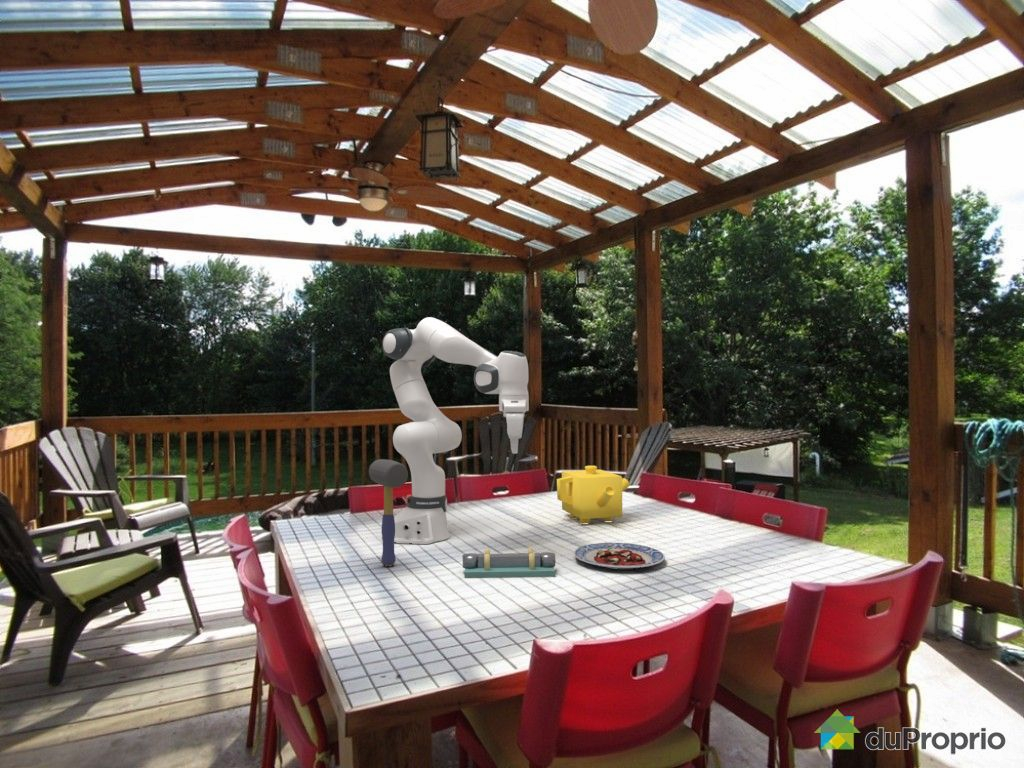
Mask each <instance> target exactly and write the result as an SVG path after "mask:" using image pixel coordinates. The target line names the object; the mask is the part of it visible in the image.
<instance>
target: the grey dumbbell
mask: <svg viewBox="0 0 1024 768" xmlns="http://www.w3.org/2000/svg"><path fill="white" fill-rule="evenodd" d="M533 553H534V554H535V567H544V568H551V567H554V568H555V567H556V553H554V552H551V551H549V552H548V551H545V552H533ZM484 554H485V553H472V552H471V553H470V552H469V553H464V554H463V555H462V568H463V569H464V570H465V569H475V568H484ZM529 554H530V553H528V552H524V553H521V552H515V553H512V552H511V553H490V568H515V567H529Z"/></svg>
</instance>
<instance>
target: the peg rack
mask: <svg viewBox="0 0 1024 768" xmlns="http://www.w3.org/2000/svg"><path fill="white" fill-rule="evenodd" d="M527 553H530V554H529V567H515V568H490V554H491V548H489V547H487V548H486V547H485V548H484V553H483V554H484V568H475V569H465V568H464V572H463V573H464V575H463V576H464V579H477V578H478V579H481V578H482V579H483V578H487V579H488V578H494V579H495V578H539V577H540V578H541V577H543V578H544V577H545V578H549V577H550V578H551V577H556V571H555V567H551V568H544V567H535V554H534V553H535V552H534V548H533V547H527Z"/></svg>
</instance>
